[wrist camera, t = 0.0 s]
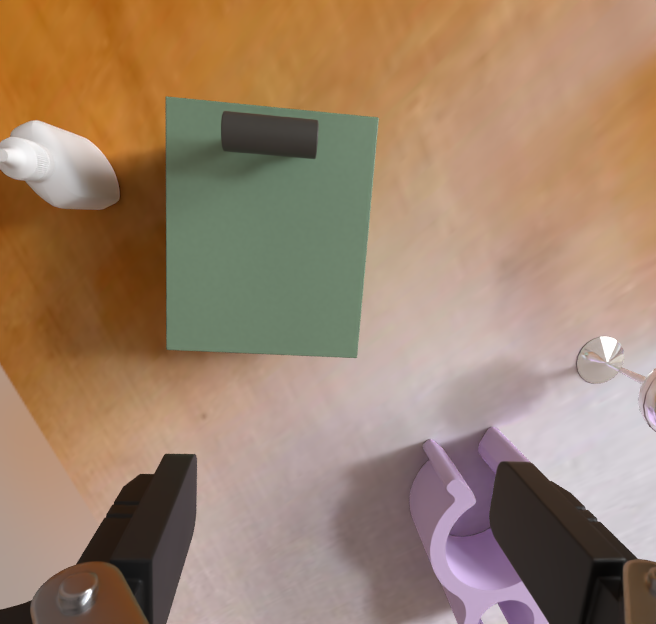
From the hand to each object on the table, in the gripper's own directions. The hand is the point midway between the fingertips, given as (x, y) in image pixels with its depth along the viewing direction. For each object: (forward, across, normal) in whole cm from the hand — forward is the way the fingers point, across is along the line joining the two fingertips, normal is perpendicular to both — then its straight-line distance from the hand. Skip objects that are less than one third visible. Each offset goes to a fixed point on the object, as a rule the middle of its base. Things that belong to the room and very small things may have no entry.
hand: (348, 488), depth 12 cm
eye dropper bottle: (+30, +18, -9) cm, 36 cm away
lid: (+19, +3, -5) cm, 20 cm away
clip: (+30, -19, +23) cm, 42 cm away
